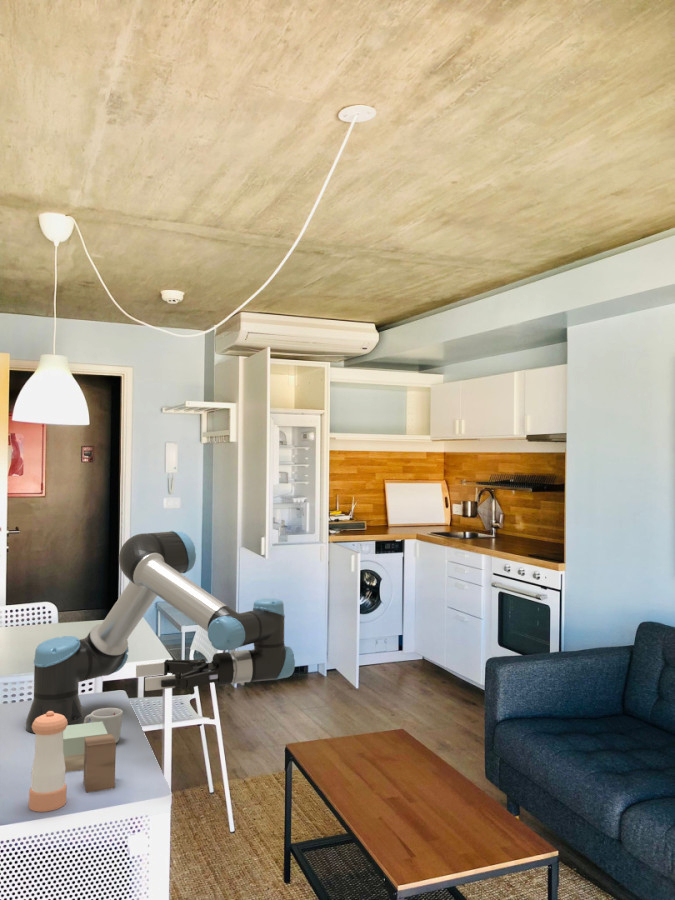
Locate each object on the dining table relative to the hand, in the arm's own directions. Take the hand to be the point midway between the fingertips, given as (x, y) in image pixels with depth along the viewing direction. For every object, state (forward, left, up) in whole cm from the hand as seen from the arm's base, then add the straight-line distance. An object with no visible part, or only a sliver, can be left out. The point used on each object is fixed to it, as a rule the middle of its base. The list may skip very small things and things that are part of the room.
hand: (140, 677), depth 169 cm
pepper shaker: (+6, -20, -23) cm, 31 cm away
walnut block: (0, -9, -23) cm, 24 cm away
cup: (-28, -5, -23) cm, 37 cm away
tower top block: (-16, -11, -19) cm, 27 cm away
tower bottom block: (-16, -11, -23) cm, 30 cm away
